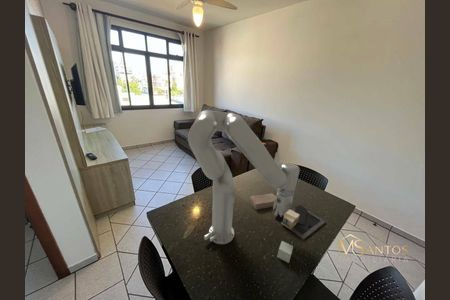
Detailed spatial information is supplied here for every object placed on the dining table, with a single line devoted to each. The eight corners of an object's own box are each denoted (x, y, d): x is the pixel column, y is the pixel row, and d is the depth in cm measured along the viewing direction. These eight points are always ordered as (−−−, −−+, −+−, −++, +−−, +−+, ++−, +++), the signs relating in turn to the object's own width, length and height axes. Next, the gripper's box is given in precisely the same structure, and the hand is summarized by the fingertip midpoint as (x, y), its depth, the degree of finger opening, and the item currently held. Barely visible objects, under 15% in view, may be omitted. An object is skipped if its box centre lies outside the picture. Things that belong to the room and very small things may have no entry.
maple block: (292, 222, 88) (299, 214, 93) (281, 215, 92) (289, 208, 97) (290, 229, 90) (297, 222, 95) (280, 223, 94) (287, 216, 99)
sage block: (288, 263, 74) (291, 254, 72) (277, 257, 77) (278, 248, 75) (291, 254, 78) (293, 246, 77) (280, 248, 81) (281, 240, 79)
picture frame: (299, 207, 109) (277, 220, 98) (299, 204, 109) (277, 217, 97) (324, 223, 97) (303, 241, 86) (325, 221, 97) (303, 238, 85)
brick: (271, 197, 116) (272, 192, 115) (278, 206, 109) (280, 199, 107) (249, 201, 112) (249, 195, 110) (254, 210, 104) (255, 204, 103)
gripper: (285, 200, 73) (277, 233, 79) (300, 187, 82) (293, 217, 89) (269, 191, 77) (263, 223, 84) (286, 180, 87) (279, 210, 94)
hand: (278, 220), depth 87 cm, fingers closed
